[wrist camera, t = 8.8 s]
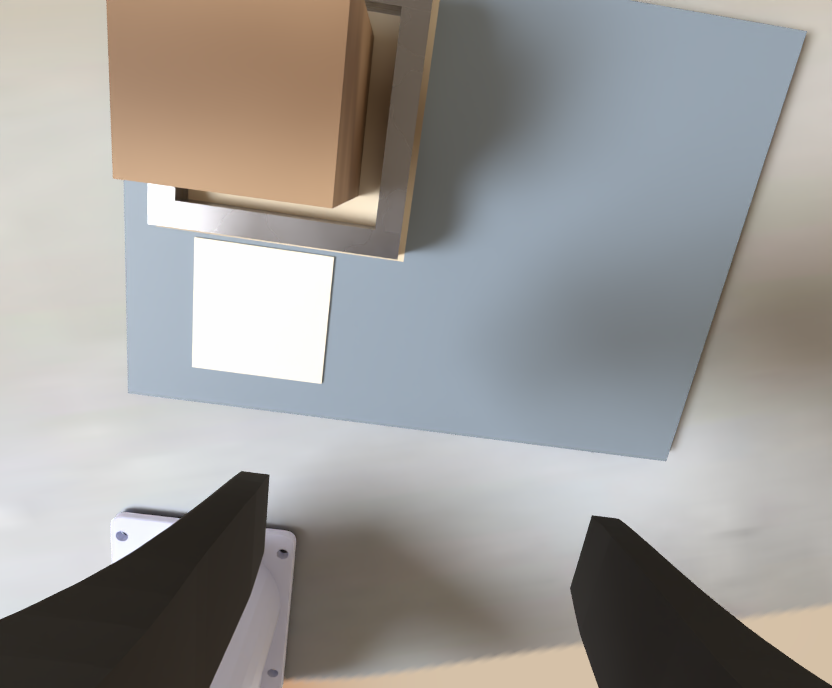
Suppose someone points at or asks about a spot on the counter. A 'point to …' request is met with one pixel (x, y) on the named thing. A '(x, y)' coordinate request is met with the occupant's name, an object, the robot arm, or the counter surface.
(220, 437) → the counter surface
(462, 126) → the board
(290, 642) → the counter surface
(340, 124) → the walnut block
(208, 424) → the counter surface
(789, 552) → the counter surface
